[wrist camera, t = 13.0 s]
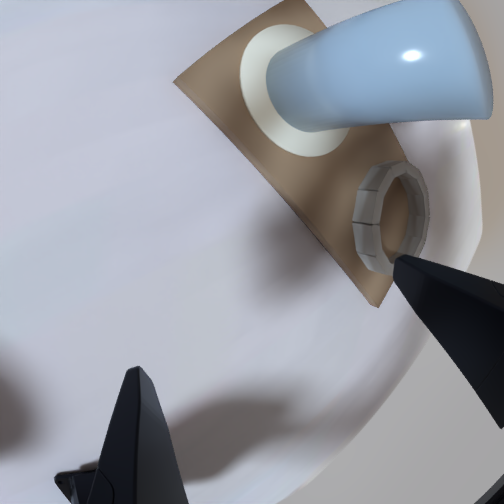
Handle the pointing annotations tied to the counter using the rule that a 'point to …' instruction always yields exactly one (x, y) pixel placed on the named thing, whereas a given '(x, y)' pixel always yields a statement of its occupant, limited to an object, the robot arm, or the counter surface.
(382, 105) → the pale blue cylinder
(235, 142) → the tan flat slab
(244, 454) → the counter surface
